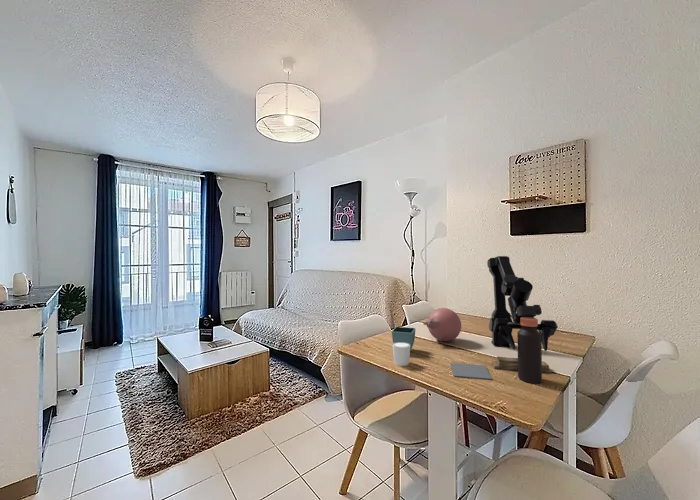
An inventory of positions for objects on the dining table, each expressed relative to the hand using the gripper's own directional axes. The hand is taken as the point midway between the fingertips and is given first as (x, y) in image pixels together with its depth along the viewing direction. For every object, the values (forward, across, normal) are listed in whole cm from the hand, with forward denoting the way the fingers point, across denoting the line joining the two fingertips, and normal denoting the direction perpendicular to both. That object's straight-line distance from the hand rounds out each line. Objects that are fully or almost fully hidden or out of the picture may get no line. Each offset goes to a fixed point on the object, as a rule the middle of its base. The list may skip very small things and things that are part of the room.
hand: (530, 349), depth 97 cm
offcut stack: (-1, 0, +15) cm, 15 cm away
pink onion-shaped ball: (-20, -26, +35) cm, 48 cm away
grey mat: (+4, -18, +10) cm, 21 cm away
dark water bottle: (+7, 0, +8) cm, 10 cm away
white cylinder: (+2, -42, +12) cm, 44 cm away
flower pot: (-8, -42, +23) cm, 48 cm away
